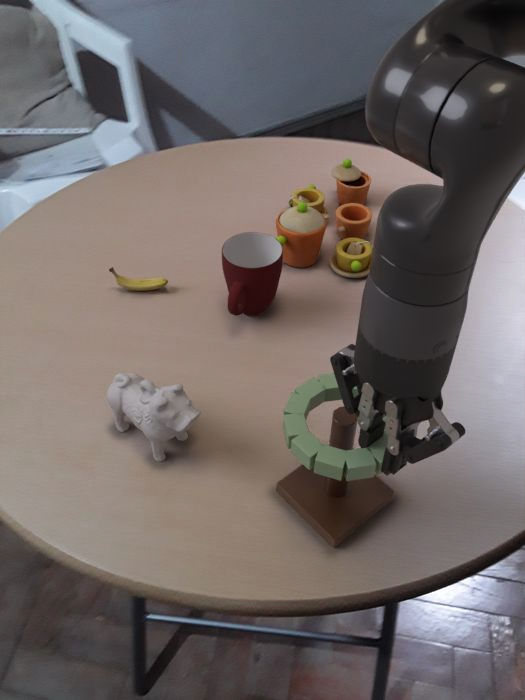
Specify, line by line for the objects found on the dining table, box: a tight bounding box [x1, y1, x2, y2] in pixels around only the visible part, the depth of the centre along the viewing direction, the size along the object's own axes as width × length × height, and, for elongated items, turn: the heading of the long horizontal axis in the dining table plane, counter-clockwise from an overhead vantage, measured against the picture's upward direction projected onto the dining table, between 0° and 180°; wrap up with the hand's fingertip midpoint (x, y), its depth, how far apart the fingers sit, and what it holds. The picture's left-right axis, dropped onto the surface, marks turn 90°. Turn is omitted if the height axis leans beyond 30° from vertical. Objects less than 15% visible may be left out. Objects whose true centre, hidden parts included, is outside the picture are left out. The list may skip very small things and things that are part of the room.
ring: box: [282, 372, 388, 481], centre depth 65 cm, size 12×12×2 cm
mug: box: [221, 231, 284, 317], centre depth 92 cm, size 11×8×10 cm
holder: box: [275, 405, 396, 549], centre depth 69 cm, size 9×9×14 cm
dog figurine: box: [105, 372, 202, 462], centre depth 76 cm, size 5×13×11 cm, turn 51°
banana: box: [108, 266, 169, 291], centre depth 97 cm, size 8×2×4 cm, turn 90°
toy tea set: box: [275, 158, 373, 279], centre depth 106 cm, size 26×16×10 cm, turn 174°
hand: (380, 459), depth 63 cm, fingers closed on ring, 2 cm apart
